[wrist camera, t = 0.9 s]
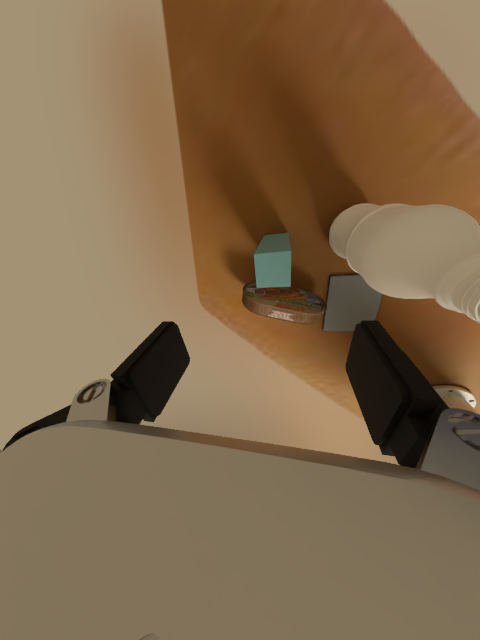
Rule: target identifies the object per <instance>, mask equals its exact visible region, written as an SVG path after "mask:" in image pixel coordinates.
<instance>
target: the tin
mask: <svg viewBox="0 0 480 640" xmlns="http://www.w3.org/2000/svg"><path fill="white" fill-rule="evenodd" d="M242 302H243V305H244V306H245V307H246V308H247V309H248V310H249V311H251V312H253V313H255V314H258V315H261V316H266V317H270V318H275V319H280V320H284V321H289V322H294V323H298V324H305V325H310V324H315V323H317V322H318V321H319V320H320V319H321V318H322V316H323V314H324V312H325V311H326V309H327V305H326V303H325V301H324V300H323V299H322V298H320V297H319V296H318V295H316V294H314V293H312V292H310V291H307V290H303V289H298V288H293V287H268V288H257V286H256V282H250V283H248V284H246V285H245V286H244V288H243V296H242Z"/></svg>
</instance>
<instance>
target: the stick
mask: <svg viewBox="0 0 480 640" xmlns="http://www.w3.org/2000/svg"><path fill="white" fill-rule="evenodd" d="M254 263H255V274H256V286H257V288H268V287H290V286H291V246H290V240H289V235H288V233H279V234H270V235H264V237H263V239H262V240H261V242H260V244H259V246H258V247H257V249H256V251H255V253H254Z"/></svg>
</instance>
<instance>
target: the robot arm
mask: <svg viewBox="0 0 480 640" xmlns="http://www.w3.org/2000/svg"><path fill="white" fill-rule="evenodd" d="M189 362H190V357H189V354H188V352H187V349H186V346H185V344H184V341H183V339H182V336H181V333H180V330H179V328H178V326H177V324H175V323H174V322H162V323H161V324H160V325H159V326H158V327H157V328H156V329H155V330H154V331H153V332H152V333H151V334H150V335H149V336H148V337H147V338H146V339H145V340H144V341H143V342H142V343H141V344H140V345H139V346H138V347H137V348H136V349H135V350H134V351H133V353H132V354H130V356H129V357H128V358H127V359H126V360H125V361H124V362H123V363H122V364H121V365H120V366H119V367H118V368H117V369H116V370H115V371H114V372H113V373H112V374H111V377H112V378H113V379H114V380H113V381H112V382H110V381H109V380H108V379H99V380H96V381H93V382H91V383H90V384H88V385H87V386H85V387H83V388H82V389H81V390H80V391H79V392H78V393H77V394H76V395H75V397H74V399H73V401H72V404H71V405H70V406H67V407H65V408H63V409H61V410H59V411H57V412H55V413H53V414H51V415H49V416H47V417H44V418H43V419H40V420H38V421H36V422H34V423H32V424H30V425H29V426H26V427H25V428H23V429H21V430H20V431H19V432H17V433H16V434H15V435H14V436H13V437H12V438H11V440H10V441H9V442H8V443H7V444H6V446H5V447H4V449H3V451H2V450H0V640H480V414H479V413H478V412H477V411H476V410H475V409H474V407H475V405H476V399H475V397H474V396H473V395H472V394H471V393H470V392H469V391H468V390H466V389H464V388H461V387H457V386H450V385H439V386H431V385H430V383H429V382H428V381H427V380H426V378H425V377H424V376H423V375H422V373H421V372H420V371H419V370H418V369H417V367H416V366H415V365H414V364H413V362H412V361H411V360H410V359H409V357H408V356H407V355H406V354H405V353H404V352H403V351H402V350H401V349H400V348H399V347H398V345H397V344H396V343H395V342H394V340H393V339H392V338H391V337H390V335H389V334H388V333H387V332H386V330H385V329H384V328H383V327H382V325H381V324H380V323H379V322H378V321H376V320H362V321H361V322H360V324H356V326H355V330H354V334H353V338H352V342H351V346H350V350H349V354H348V358H347V362H346V372H347V374H348V377H349V380H350V382H351V385H352V388H353V390H354V393H355V396H356V398H357V401H358V403H359V406H360V409H361V411H362V414H363V417H364V419H365V422H366V424H367V427H368V430H369V432H370V435H371V438H372V440H373V442H374V444H376V445H379V447H380V449H381V452H382V455H390V456H395V457H396V459H397V461H398V464H400V465H396V464H391V463H387V462H381V461H375V460H368V459H363V458H357V457H351V456H345V455H340V454H334V453H327V452H320V451H314V450H308V449H301V448H295V447H288V446H281V445H275V444H268V443H262V442H255V441H249V440H242V439H235V438H228V437H222V436H214V435H208V434H201V433H194V432H187V431H181V430H174V429H167V428H159V427H153V426H145V425H140V422H141V421H142V419H143V420H144V421H149V422H154V421H155V419H156V417H157V416H158V415H160V414H161V412H162V410H163V409H164V407H165V405H166V403H167V402H168V400H169V398H170V396H171V394H172V392H173V391H174V389H175V387H176V386H177V384H178V382H179V380H180V379H181V377H182V375H183V373H184V372H185V370H186V368H187V366H188V365H189Z"/></svg>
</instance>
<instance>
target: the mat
mask: <svg viewBox="0 0 480 640" xmlns="http://www.w3.org/2000/svg"><path fill="white" fill-rule="evenodd" d="M382 296H383V294H381V293H379V292H378V291H376V290H374V289H373V288H371V287H370V286H369V285H368V284H367V283H366V282H365V280H364V278H363V277H362V276H361V275H360V274H354V275H336V276H330V281H329V289H328V296H327V303H326V305H327V309H326V311H325V318H324V325H323V331H354V330H355V326H356V324H360V322H361V321H362V320H375V319H376V315H377V312H378V309H379V306H380V302H381V299H382Z"/></svg>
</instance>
